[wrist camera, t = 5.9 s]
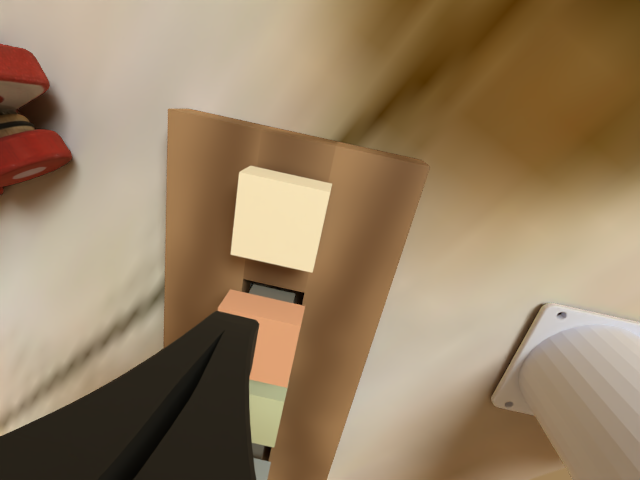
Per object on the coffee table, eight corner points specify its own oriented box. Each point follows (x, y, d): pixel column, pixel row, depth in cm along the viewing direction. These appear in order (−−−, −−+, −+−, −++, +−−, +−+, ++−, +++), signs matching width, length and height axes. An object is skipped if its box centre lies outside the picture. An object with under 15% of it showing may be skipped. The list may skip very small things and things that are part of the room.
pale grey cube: (277, 433, 23) (264, 489, 19) (270, 467, 24) (257, 525, 21) (224, 420, 23) (202, 474, 19) (219, 456, 24) (198, 512, 21)
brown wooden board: (421, 159, 16) (430, 166, 15) (321, 473, 26) (319, 500, 24) (188, 108, 16) (168, 108, 15) (174, 439, 26) (161, 464, 24)
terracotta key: (309, 285, 18) (300, 326, 15) (298, 339, 19) (287, 387, 16) (242, 270, 18) (218, 307, 15) (235, 326, 19) (211, 370, 16)
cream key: (334, 175, 17) (330, 192, 13) (319, 242, 18) (312, 272, 15) (261, 159, 17) (239, 172, 13) (252, 227, 18) (230, 254, 15)
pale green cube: (294, 355, 21) (284, 402, 18) (285, 397, 23) (274, 447, 19) (237, 343, 21) (216, 386, 18) (232, 385, 23) (211, 433, 19)
